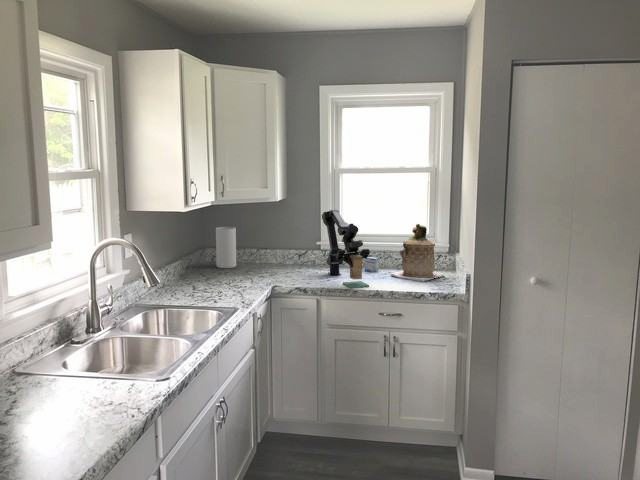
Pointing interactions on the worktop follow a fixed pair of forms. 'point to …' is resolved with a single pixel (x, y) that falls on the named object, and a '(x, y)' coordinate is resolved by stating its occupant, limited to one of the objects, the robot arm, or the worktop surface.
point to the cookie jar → (418, 257)
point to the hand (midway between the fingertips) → (357, 266)
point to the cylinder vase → (226, 247)
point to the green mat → (355, 284)
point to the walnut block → (356, 267)
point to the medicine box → (371, 264)
